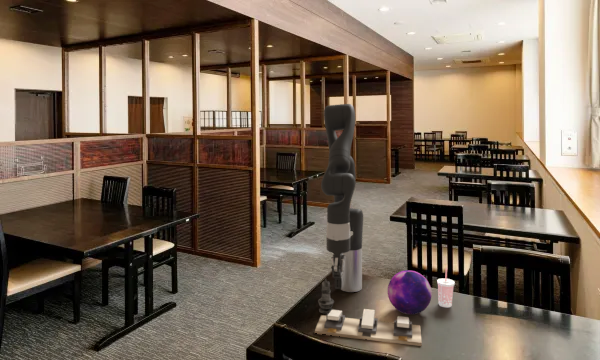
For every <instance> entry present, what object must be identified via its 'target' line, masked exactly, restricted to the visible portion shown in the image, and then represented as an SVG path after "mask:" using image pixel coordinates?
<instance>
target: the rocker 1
mask: <svg viewBox="0 0 600 360" xmlns="http://www.w3.org/2000/svg"><path fill="white" fill-rule="evenodd" d="M341 315H343V310H339V309H333V310H331V311H330V313H329V314H328V316H327V319H329V320H339V319H340V317H341Z"/></svg>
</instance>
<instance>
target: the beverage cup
mask: <svg viewBox="0 0 600 360" xmlns="http://www.w3.org/2000/svg"><path fill="white" fill-rule="evenodd" d="M444 273H445V275H444V276H445V278H438V279H437V280H436V282H437V294H438V295H437V299H438V300H437V301H438V305H439V307H442V308H451V307H452V306H453V296H454V287H455V285H456V283H455V280H453V279H450V278H448V268H447V267H446V268H445V272H444Z"/></svg>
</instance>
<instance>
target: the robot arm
mask: <svg viewBox="0 0 600 360" xmlns="http://www.w3.org/2000/svg"><path fill="white" fill-rule="evenodd" d="M323 110H324V111H323V116H324V117H323V118H324V126H325V131H326V138H327V144H328V150H329V151H328V152H329V153H328V165H327V167H326V170H325V172H324V174H323V176H322V179H321V184H320V187H321V190H322V193H323V194H325V195H326V196H331V197H332V196H333V202H331V203H329V204H328V205H327V208H326V210H327V211H326V213H327V216H326V217H327V218H326V221H327V222H326V223H327V224H326V231H325V232H326V233H325V234H326V235H325V236H326V250H327V252H330V253H332V256H331V261H330V262H331V267H330V268H331V273H332V278H333V279H334V289H335V290H341V291H343V292H347V293H354V292H359V291H361V290H362V288H363V232H364V231H363V229H364V212H363V211H362V209H360V208H353V207H351V203H352V199H353V195H354V191H355V189H356V185H357V184H356V164H355V160H354V158H353V157H352V156H351V151H352V150H351V148H352V143H353V139H354V132H355V126H356V110H355V108H354V105H352V104H351V103H342V104H341V103H339V104H330V105H326V106H325V107H324V109H323ZM336 131H342V132H341V133H340V135H339V136H338V135H337V133H336ZM351 232H352V235H351Z"/></svg>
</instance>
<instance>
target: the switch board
mask: <svg viewBox="0 0 600 360" xmlns="http://www.w3.org/2000/svg"><path fill="white" fill-rule="evenodd" d="M328 314H329V313H327V314H325V315H324V314H323V315H322V314H321V315H320V317H319V319H318V322H317V323H316V326H315V329H314V334H315V333H317V334H316V335H322V334H326V335H325V336H330V335H332V336H331V337H339V336H340V338H349V339H350V338H351V339H358V340H359V339H360V340H365V339H367V340H366V341H375V342H383V343H391V344H401V345H408V346H409V345H410V346H416V347H417V346H419V347H422V345H423V344H422V343H423V342H422V331H421V325H420V324H413V321H409V328H405V327H397V319H394V321H393V322H392V321H391V322H390V321H381V320H379V319H378V318H376V317H374V324H373V329H367V328H361V324H362V318H363V316H360V317H359V318H352V317H346V315H345V314H342V315H341V317H340V319H339V320H329V319H327V316H328Z"/></svg>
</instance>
